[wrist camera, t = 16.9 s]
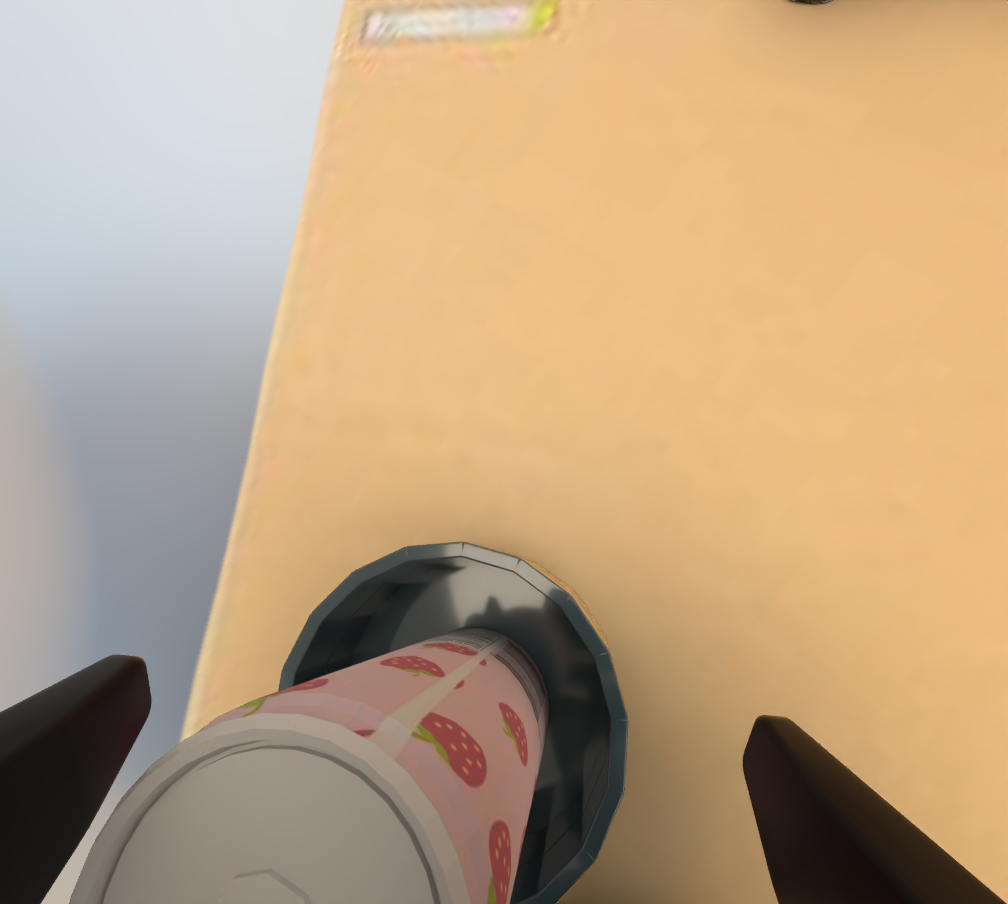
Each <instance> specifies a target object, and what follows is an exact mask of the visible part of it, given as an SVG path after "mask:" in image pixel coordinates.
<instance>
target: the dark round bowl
mask: <svg viewBox="0 0 1008 904" xmlns="http://www.w3.org/2000/svg"><path fill="white" fill-rule="evenodd" d="M464 628H482V629H486V630H491V631H495V632H498V633H500V634H502V635H504V636H506V637H508V638H510V639H511V640H513V641H514V642H515V643H517V644H518V645H519V646H521V647H522V648H523V649H524V650H525V651H526V653H527V654H528V655H529V656H530V657H531V658H532V660H533V661H534V662H535V664H536V666H537V668H538V670H539V671H540V673H541V675H542V677H543V681H544V684H545V687H546V690H547V694H548V703H549V721H548V730H547V734H546V739H545V744H544V748H543V753H542V757H541V762H540V766H539V771H538V776H537V780H536V785H535V789H534V794H533V798H532V803H531V807H530V812H529V817H528V821H527V826H526V830H525V835H524V839H523V844H522V849H521V853H520V858H519V862H518V867H517V871H516V876H515V880H514V885H513V890H512V894H511V899H510V903H509V904H555V903H556V902H557V901H558V900H559V899H560V898H561V897H562V896H563V894H564V893H565V892H566V891H567V890H568V889H569V888H570V887H571V886H572V885H573V884H574V883H575V882H576V881H577V880H578V879H579V878H580V877H581V876H582V875H583V873H584V872H585V871H586V870H587V869H588V868H589V867H590V866H591V865H592V864H593V863H594V862H595V860H596V858H597V857H598V855H599V853H600V850H601V848H602V845H603V843H604V840H605V838H606V836H607V833H608V831H609V828H610V826H611V824H612V821H613V819H614V816H615V814H616V811H617V809H618V807H619V804H620V802H621V799H622V797H623V795H624V790H625V774H626V755H627V736H628V716H627V712H626V708H625V705H624V701H623V697H622V694H621V690H620V686H619V683H618V679H617V676H616V672H615V668H614V665H613V661H612V658H611V654H610V651H609V647H608V643H607V640H606V637H605V635H604V633H603V632H602V630H601V629H600V628H599V626H598V625H597V623H596V622H595V620H594V619H593V617H592V616H591V614H590V613H589V611H588V610H587V608H586V607H585V606H584V604H583V603H582V601H581V600H580V598H579V597H578V595H577V594H576V593H574V591H573V590H572V589H570V588H569V587H568V586H566V585H565V584H563V583H562V582H561V581H560V580H558V579H557V578H556V577H554V576H553V575H551V574H550V573H548V572H547V571H546V570H544V569H543V568H542V567H540V566H539V565H537V564H536V563H534V562H532V561H529V560H526V559H523V558H519V557H516V556H513V555H509V554H506V553H502V552H499V551H495V550H492V549H488V548H485V547H481V546H478V545H474V544H471V543H467V542H452V543H440V544H428V545H416V546H407V547H404V548H401V549H399V550H397V551H395V552H393V553H391V554H389V555H387V556H384V557H382V558H380V559H378V560H376V561H374V562H372V563H369V564H367V565H365V566H363V567H361V568H359V569H357V570H355V571H354V572H352V573H351V574H350V575H349V576H348V577H347V578H346V579H345V580H344V581H343V582H342V583H341V584H340V585H339V586H338V587H337V588H336V589H335V590H334V591H333V592H332V593H331V594H330V595H329V596H328V597H327V598H326V599H325V600H324V601H323V602H322V603H321V604H320V605H319V606H318V607H317V608H316V609H315V610H314V611H313V612H312V614H310V616H309V618H308V620H307V622H306V624H305V626H304V628H303V630H302V632H301V633H300V635H299V637H298V639H297V641H296V643H295V645H294V647H293V649H292V651H291V653H290V655H289V657H288V659H287V661H286V663H285V664H284V666H283V670H282V673H281V679H280V684H279V690H278V692H279V691H282V690H285V689H287V688H290V687H293V686H296V685H299V684H302V683H305V682H307V681H310V680H313V679H316V678H319V677H322V676H325V675H327V674H330V673H333V672H336V671H339V670H342V669H345V668H347V667H350V666H353V665H356V664H359V663H362V662H365V661H367V660H370V659H373V658H376V657H379V656H382V655H385V654H387V653H390V652H393V651H396V650H399V649H402V648H405V647H407V646H410V645H413V644H416V643H419V642H422V641H425V640H427V639H430V638H433V637H436V636H439V635H442V634H445V633H447V632H450V631H455V630H459V629H464Z"/></svg>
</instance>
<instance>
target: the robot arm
mask: <svg viewBox="0 0 1008 904" xmlns="http://www.w3.org/2000/svg"><path fill="white" fill-rule="evenodd" d="M150 708H151V693H150V687H149V680H148V674H147V667H146V663H145V661H144V660H143V659H142V658H140V657H136V656H126V655H111V656H109V657H106V658H104V659H102V660H100V661H98V662H97V663H95V664H93V665H91V666H89V667H87V668H85V669H83V670H81V671H79V672H77V673H75V674H73V675H71V676H69V677H68V678H66V679H64V680H62V681H60V682H58V683H56V684H54V685H52V686H51V687H48V688H46V689H45V690H42V691H41V692H39V693H37V694H35V695H33V696H31V697H29V698H27V699H25V700H23V701H22V702H20V703H17V704H16V705H14V706H12V707H10V708H8V709H6V710H4V711H2V712H0V904H41V902H42V901H43V899H44V897H45V896H46V894H47V892H48V891H49V890H50V888H51V887H52V885H53V883H54V882H55V880H56V879H57V877H58V876H59V874H60V873H61V871H62V870H63V868H64V867H65V865H66V863H67V862H68V860H69V859H70V857H71V856H72V854H73V852H74V851H75V849H76V848H77V846H78V845H79V843H80V841H81V840H82V838H83V837H84V835H85V833H86V832H87V830H88V828H89V827H90V825H91V823H92V821H93V820H94V818H95V816H96V814H97V812H98V811H99V809H100V807H101V805H102V803H103V801H104V799H105V797H106V796H107V794H108V792H109V790H110V788H111V786H112V784H113V782H114V780H115V778H116V777H117V774H118V773H119V771H120V769H121V767H122V765H123V763H124V761H125V759H126V758H127V756H128V754H129V752H130V750H131V748H132V746H133V744H134V742H135V741H136V738H137V737H138V735H139V733H140V731H141V729H142V727H143V725H144V723H145V722H146V720H147V717H148V715H149V712H150ZM743 771H744V776H745V780H746V784H747V788H748V791H749V795H750V799H751V803H752V807H753V811H754V815H755V819H756V823H757V827H758V831H759V835H760V838H761V842H762V846H763V850H764V854H765V858H766V862H767V866H768V870H769V873H770V877H771V880H772V884H773V887H774V890H775V893H776V896H777V899H778V903H779V904H1006V903H1005V902H1004V901H1003V900H1002V899H1001V898H999V897H998V896H997V895H996V894H995V893H994V892H992V891H991V890H990V889H989V888H988V887H986V886H985V885H984V884H983V883H982V882H981V881H979V880H978V879H977V878H976V877H975V876H974V875H972V874H971V873H970V872H969V871H968V870H966V869H965V868H964V867H963V866H962V865H961V864H959V863H958V862H957V861H956V860H955V859H954V858H952V857H951V856H950V855H949V854H948V853H947V852H945V851H944V850H943V849H942V848H941V847H939V846H938V845H937V844H936V843H935V842H934V841H932V840H931V839H930V838H929V837H928V836H927V835H925V834H924V833H923V832H922V831H921V830H920V829H918V828H917V827H916V826H915V825H914V824H912V823H911V822H910V821H909V820H908V819H907V818H905V817H904V816H903V815H902V814H901V813H900V812H898V811H897V810H896V809H895V808H894V807H893V806H891V805H890V804H889V803H888V802H887V801H885V800H884V799H883V798H882V797H881V796H880V795H878V794H877V793H876V792H875V791H874V790H873V789H871V788H870V787H869V786H868V785H867V784H866V783H864V782H863V781H862V780H861V779H860V778H858V777H857V776H856V775H855V774H854V773H853V772H851V771H850V770H849V769H848V768H847V767H846V766H844V765H843V764H842V763H841V762H840V761H839V760H837V759H836V758H835V757H834V756H833V755H831V754H830V753H829V752H828V751H827V750H826V749H824V748H823V747H822V746H821V745H820V744H819V743H817V742H816V741H815V740H814V739H813V738H812V737H810V736H809V735H808V734H807V733H806V732H804V731H803V730H802V729H801V728H800V727H799V726H797V725H796V724H795V723H794V722H793V721H791V720H790V719H788V718H785V717H779V716H768V715H762V716H759V717H758V718H757V719H756V721H755V723H754V726H753V728H752V731H751V734H750V737H749V740H748V743H747V746H746V748H745V751H744V755H743Z"/></svg>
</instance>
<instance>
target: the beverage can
mask: <svg viewBox="0 0 1008 904" xmlns="http://www.w3.org/2000/svg"><path fill="white" fill-rule="evenodd" d="M548 721H549V703H548V694H547V690H546V687H545V684H544V681H543V677H542V675H541V673H540V671H539V670H538V668H537V666H536V664H535V662H534V661H533V660H532V658H531V657H530V656H529V655H528V654H527V653H526V651H525V650H524V649H523V648H522V647H521V646H519V645H518V644H517V643H515V642H514V641H513V640H511V639H510V638H508V637H506V636H504V635H502V634H500V633H498V632H495V631H491V630H486V629H482V628H464V629H459V630H455V631H450V632H447V633H445V634H442V635H439V636H436V637H433V638H430V639H427V640H425V641H422V642H419V643H416V644H413V645H410V646H407V647H405V648H402V649H399V650H396V651H393V652H390V653H387V654H385V655H382V656H379V657H376V658H373V659H370V660H367V661H365V662H362V663H359V664H356V665H353V666H350V667H347V668H345V669H342V670H339V671H336V672H333V673H330V674H327V675H325V676H322V677H319V678H316V679H313V680H310V681H307V682H305V683H302V684H299V685H296V686H293V687H290V688H287V689H285V690H282V691H279V692H276V693H273V694H270V695H267V696H265V697H262V698H259V699H256V700H253V701H251V702H249V703H247V704H244V705H242V706H240V707H238V708H236V709H234V710H232V711H229V712H227V713H225V714H223V715H221V716H219V717H217V718H215V719H214V720H213V721H211V722H210V723H209V724H208V725H206V726H205V727H204V728H202V729H201V730H200V731H198V732H197V733H196V734H194V735H193V736H191V737H189V738H187V739H185V740H184V741H183V742H181V743H180V744H179V745H177V746H176V747H175V748H174V749H172V750H171V751H169V752H168V753H167V754H165V755H164V756H163V757H161V758H160V759H159V760H157V761H156V762H155V763H153V764H152V765H151V766H150V767H149V768H148V769H147V771H146V772H145V773H144V774H143V775H142V776H141V777H140V778H139V779H138V780H137V781H136V783H135V784H134V785H133V786H132V787H131V788H130V789H129V790H128V791H127V793H126V794H125V795H124V796H123V797H122V798H121V800H120V802H119V803H118V805H117V806H116V808H115V809H114V811H113V813H112V814H111V816H110V817H109V819H108V820H107V822H106V824H105V825H104V827H103V828H102V830H101V832H100V833H99V835H98V837H97V838H96V840H95V842H94V844H93V846H92V848H91V850H90V852H89V854H88V857H87V859H86V862H85V864H84V866H83V869H82V871H81V874H80V876H79V879H78V881H77V883H76V886H75V888H74V890H73V893H72V895H71V899H70V903H69V904H509V903H510V899H511V894H512V890H513V885H514V880H515V876H516V871H517V867H518V862H519V858H520V853H521V849H522V844H523V839H524V835H525V830H526V826H527V821H528V817H529V812H530V807H531V803H532V798H533V794H534V789H535V785H536V780H537V776H538V771H539V766H540V762H541V757H542V753H543V748H544V744H545V739H546V734H547V730H548Z"/></svg>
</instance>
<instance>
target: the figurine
mask: <svg viewBox="0 0 1008 904" xmlns="http://www.w3.org/2000/svg"><path fill="white" fill-rule="evenodd" d="M793 1H807V3H810V2H811V3H812V4H815V3H819V2H823V3H827V2H829V1H832V0H793Z"/></svg>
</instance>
